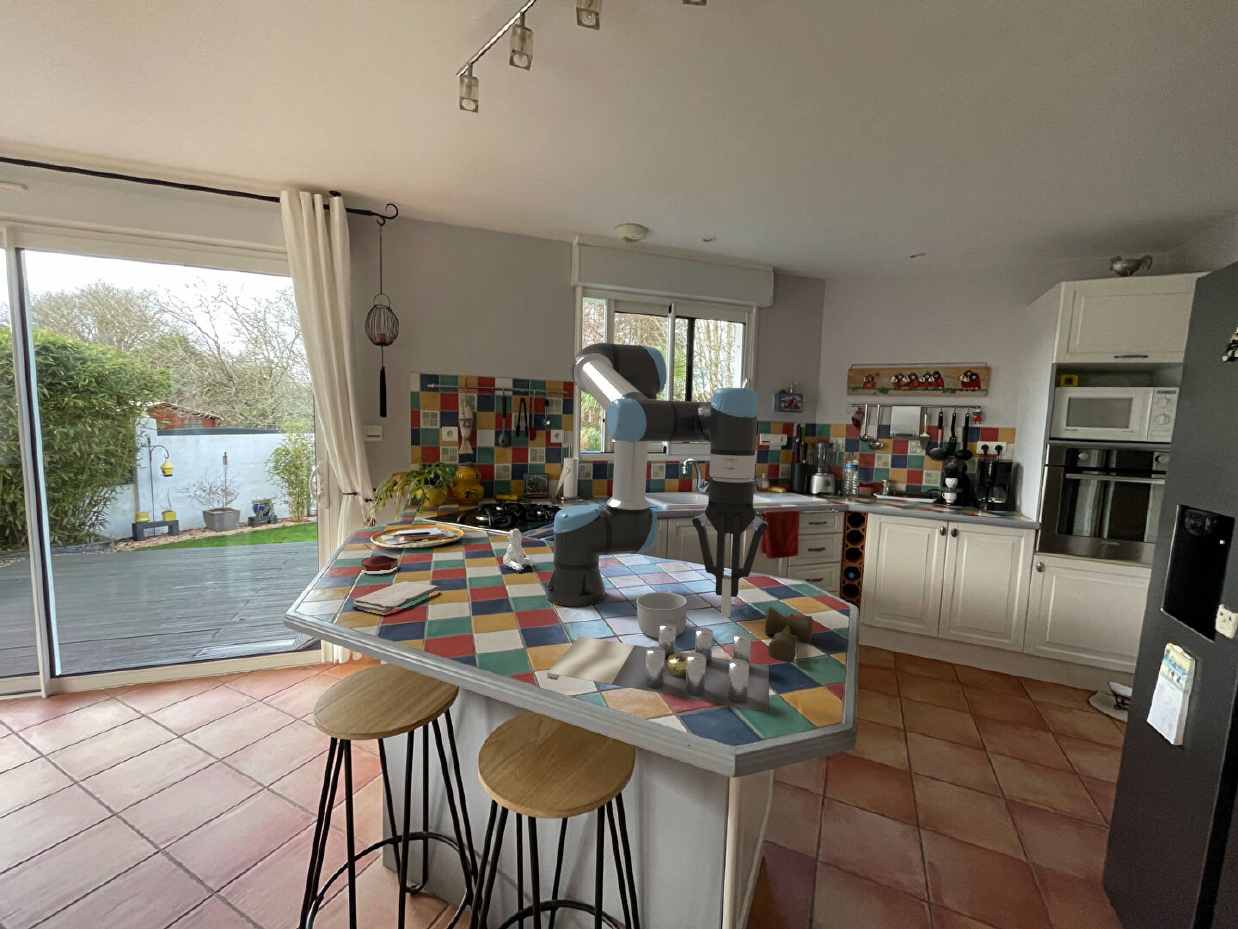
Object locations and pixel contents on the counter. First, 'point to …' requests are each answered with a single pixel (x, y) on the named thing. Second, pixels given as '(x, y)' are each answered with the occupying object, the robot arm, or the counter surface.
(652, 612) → the teacup
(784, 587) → the counter surface
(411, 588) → the washcloth
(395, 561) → the red and clear bowl
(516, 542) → the sitting furry creature
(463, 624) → the counter surface
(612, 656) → the board
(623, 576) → the counter surface
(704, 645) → the steel spacers
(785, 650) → the kendama
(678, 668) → the brass knob
